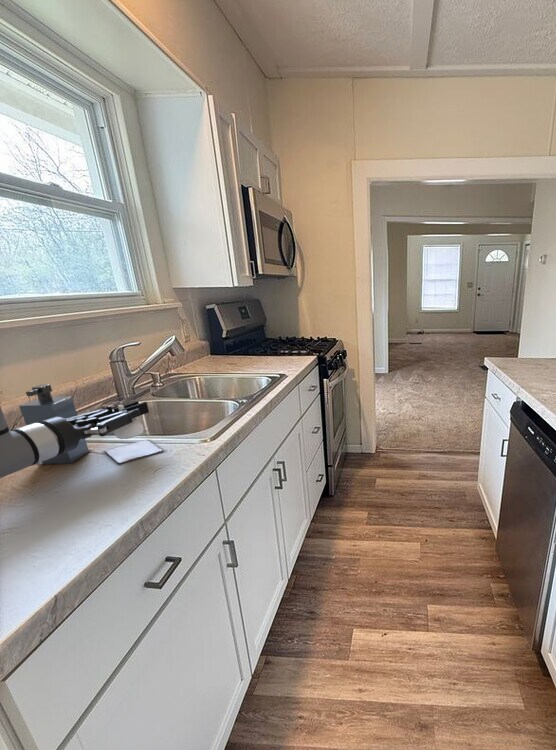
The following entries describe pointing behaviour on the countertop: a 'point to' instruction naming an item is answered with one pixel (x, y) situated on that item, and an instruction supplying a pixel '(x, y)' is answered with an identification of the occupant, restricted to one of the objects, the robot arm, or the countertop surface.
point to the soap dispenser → (49, 409)
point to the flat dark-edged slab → (133, 451)
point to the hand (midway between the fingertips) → (142, 406)
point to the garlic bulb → (128, 428)
